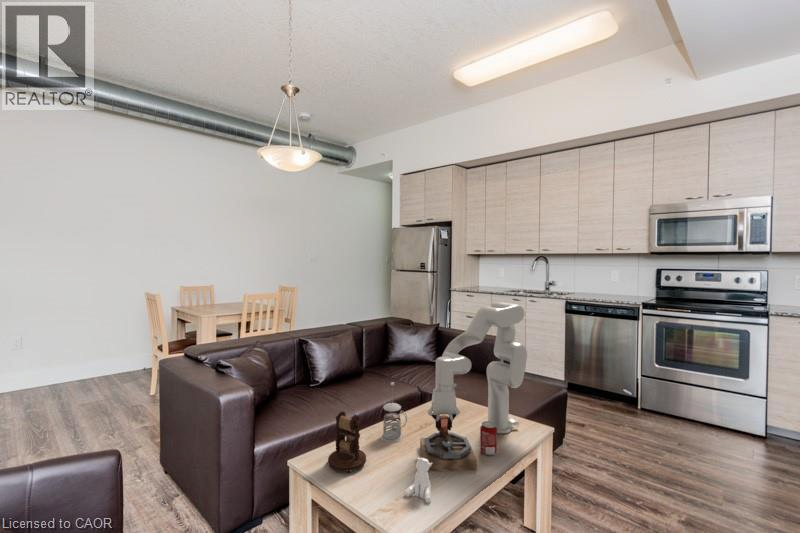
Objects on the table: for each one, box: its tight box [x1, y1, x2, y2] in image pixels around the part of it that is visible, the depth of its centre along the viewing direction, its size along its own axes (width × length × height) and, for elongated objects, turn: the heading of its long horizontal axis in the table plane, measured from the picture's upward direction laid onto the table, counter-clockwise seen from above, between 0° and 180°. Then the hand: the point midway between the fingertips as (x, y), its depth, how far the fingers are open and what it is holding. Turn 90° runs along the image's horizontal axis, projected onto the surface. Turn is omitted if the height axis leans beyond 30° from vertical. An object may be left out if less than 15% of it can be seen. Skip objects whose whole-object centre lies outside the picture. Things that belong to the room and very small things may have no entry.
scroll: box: [327, 411, 367, 474], centre depth 148 cm, size 15×15×20 cm
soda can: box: [479, 420, 498, 456], centre depth 158 cm, size 7×7×12 cm
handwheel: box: [424, 414, 472, 459], centre depth 154 cm, size 19×18×9 cm
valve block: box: [419, 436, 478, 472], centre depth 154 cm, size 20×18×4 cm
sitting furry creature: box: [403, 456, 432, 504], centre depth 131 cm, size 10×9×12 cm
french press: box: [380, 381, 408, 443], centre depth 170 cm, size 10×12×25 cm
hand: (443, 428), depth 161 cm, fingers closed on handwheel, 4 cm apart
